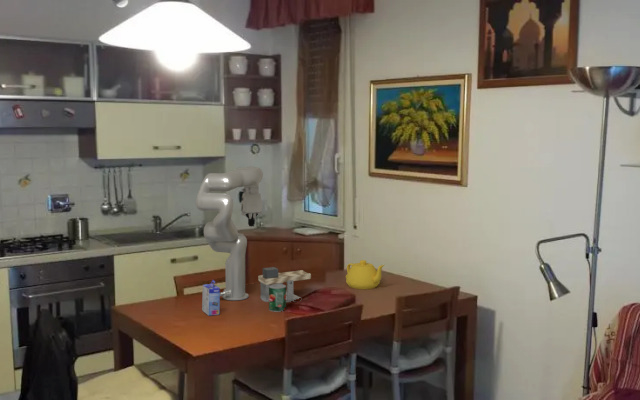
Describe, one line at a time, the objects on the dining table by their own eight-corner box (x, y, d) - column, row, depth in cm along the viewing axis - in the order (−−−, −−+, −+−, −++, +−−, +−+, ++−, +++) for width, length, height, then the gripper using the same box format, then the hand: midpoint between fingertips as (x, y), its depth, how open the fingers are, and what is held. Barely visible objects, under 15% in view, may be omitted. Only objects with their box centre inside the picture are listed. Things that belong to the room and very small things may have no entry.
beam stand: (270, 304, 307) (270, 283, 306) (256, 296, 321) (256, 276, 320) (301, 300, 315) (301, 280, 314) (286, 292, 329) (286, 273, 328)
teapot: (393, 287, 343) (394, 261, 341) (373, 293, 330) (373, 266, 328) (356, 279, 359) (356, 255, 358) (335, 285, 346) (335, 260, 344)
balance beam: (265, 284, 309) (265, 279, 309) (258, 280, 317) (258, 275, 316) (310, 278, 320) (310, 273, 320) (302, 275, 328) (302, 270, 328)
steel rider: (267, 280, 311) (266, 270, 310) (262, 278, 315) (262, 268, 314) (278, 279, 313) (278, 268, 313) (274, 277, 318) (273, 267, 317)
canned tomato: (289, 309, 299) (289, 285, 298) (277, 312, 293) (277, 289, 292) (277, 306, 304) (277, 283, 303) (265, 309, 299) (265, 286, 298)
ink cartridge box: (220, 314, 290) (220, 282, 288) (208, 316, 287) (208, 284, 286) (213, 309, 298) (213, 278, 297) (201, 310, 296) (201, 279, 294)
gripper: (240, 192, 328) (240, 228, 330) (267, 190, 336) (267, 226, 338) (234, 190, 335) (235, 226, 337) (261, 189, 342) (261, 224, 344)
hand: (251, 226), depth 337 cm, fingers closed
